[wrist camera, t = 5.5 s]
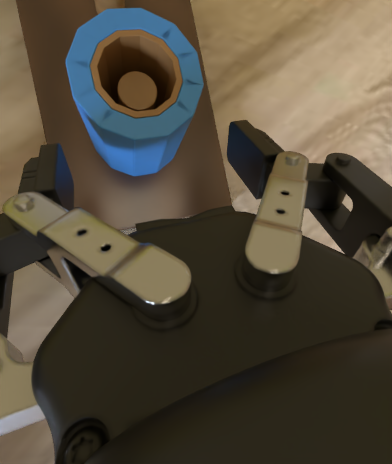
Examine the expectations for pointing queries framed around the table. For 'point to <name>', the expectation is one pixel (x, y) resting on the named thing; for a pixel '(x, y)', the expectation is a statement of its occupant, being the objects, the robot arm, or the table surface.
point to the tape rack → (130, 96)
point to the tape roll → (124, 61)
